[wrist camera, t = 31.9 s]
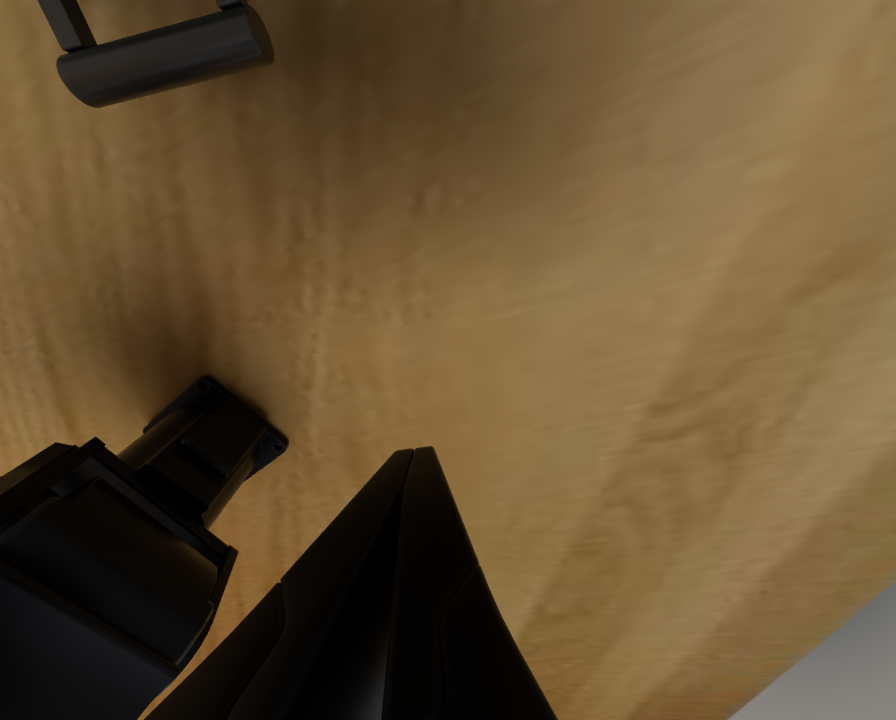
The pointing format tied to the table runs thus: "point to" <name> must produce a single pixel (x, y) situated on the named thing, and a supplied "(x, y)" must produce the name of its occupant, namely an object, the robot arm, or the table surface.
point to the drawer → (156, 52)
